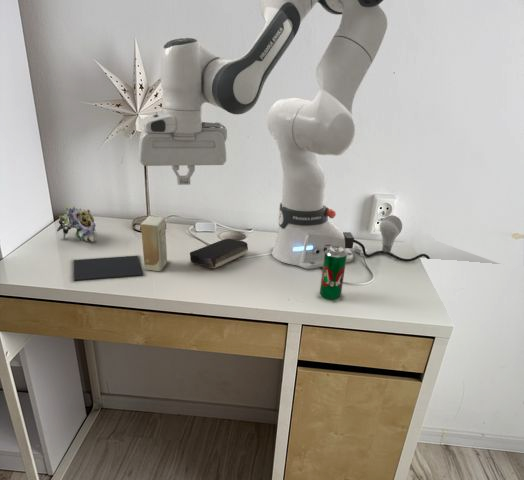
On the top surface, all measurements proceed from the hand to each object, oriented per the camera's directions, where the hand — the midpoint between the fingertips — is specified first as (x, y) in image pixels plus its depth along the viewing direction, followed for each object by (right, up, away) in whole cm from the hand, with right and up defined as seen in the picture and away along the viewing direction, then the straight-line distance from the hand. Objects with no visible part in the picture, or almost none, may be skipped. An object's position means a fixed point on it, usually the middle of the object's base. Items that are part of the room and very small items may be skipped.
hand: (183, 184), depth 124 cm
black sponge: (+7, -16, +15) cm, 23 cm away
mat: (-20, -19, +7) cm, 29 cm away
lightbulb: (+54, -12, +25) cm, 61 cm away
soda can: (+35, -27, 0) cm, 44 cm away
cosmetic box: (-9, -18, +9) cm, 22 cm away
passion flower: (-33, -9, +22) cm, 41 cm away
